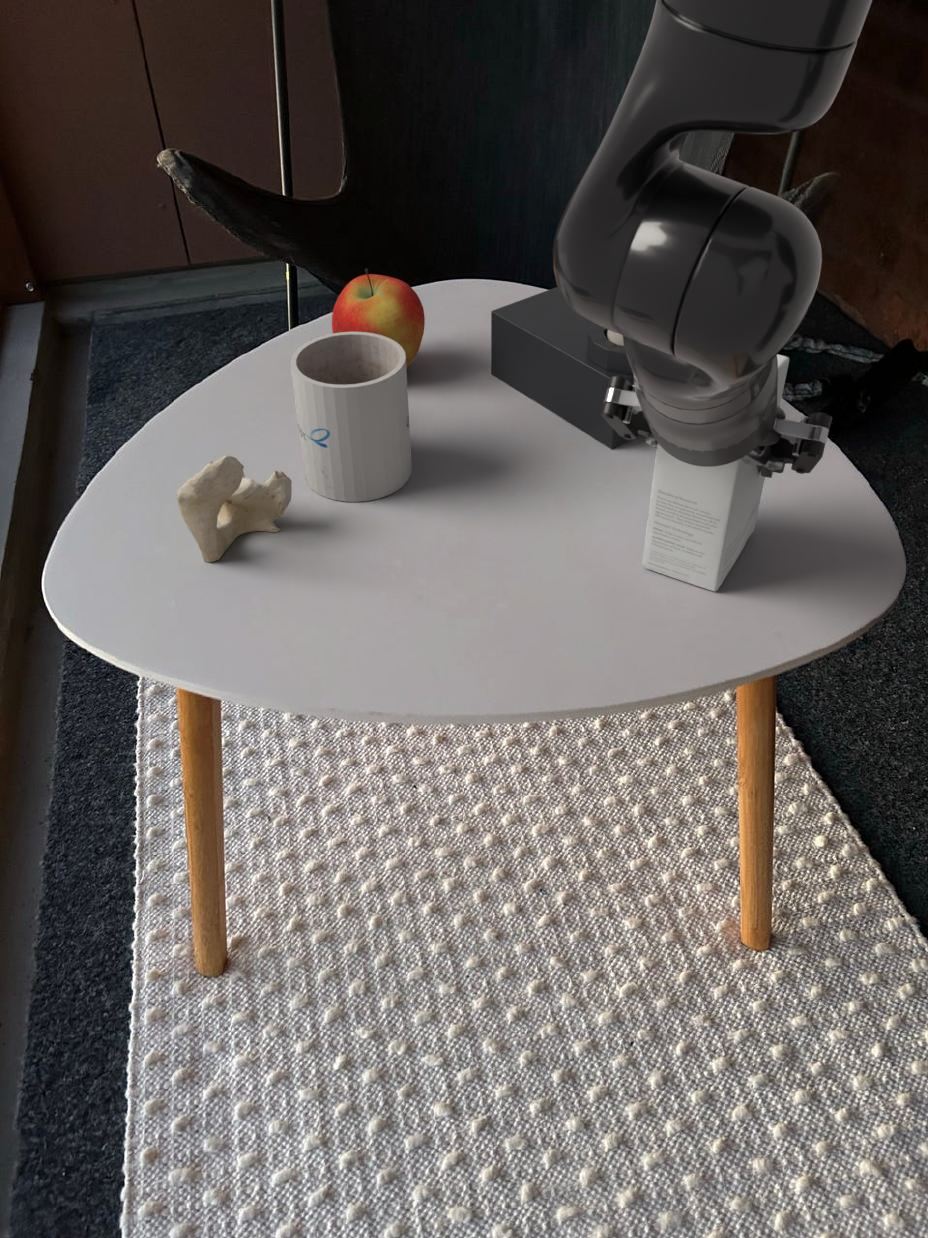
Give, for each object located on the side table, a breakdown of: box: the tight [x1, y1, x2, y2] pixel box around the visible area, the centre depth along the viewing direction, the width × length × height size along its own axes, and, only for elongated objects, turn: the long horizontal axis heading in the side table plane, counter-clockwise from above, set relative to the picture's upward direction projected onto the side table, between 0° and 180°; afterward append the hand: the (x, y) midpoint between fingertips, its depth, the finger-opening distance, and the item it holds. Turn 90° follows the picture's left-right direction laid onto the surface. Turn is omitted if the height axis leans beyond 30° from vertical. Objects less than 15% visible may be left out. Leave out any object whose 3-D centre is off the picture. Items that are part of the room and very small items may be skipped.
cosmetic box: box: [641, 353, 790, 592], centre depth 74 cm, size 8×6×15 cm
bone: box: [175, 454, 293, 563], centre depth 79 cm, size 9×6×10 cm
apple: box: [331, 268, 426, 369], centre depth 96 cm, size 8×8×10 cm
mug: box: [289, 332, 413, 503], centre depth 86 cm, size 12×9×10 cm
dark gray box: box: [490, 286, 642, 450], centre depth 94 cm, size 17×10×8 cm, turn 37°
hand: (719, 452), depth 76 cm, fingers closed on cosmetic box, 6 cm apart
